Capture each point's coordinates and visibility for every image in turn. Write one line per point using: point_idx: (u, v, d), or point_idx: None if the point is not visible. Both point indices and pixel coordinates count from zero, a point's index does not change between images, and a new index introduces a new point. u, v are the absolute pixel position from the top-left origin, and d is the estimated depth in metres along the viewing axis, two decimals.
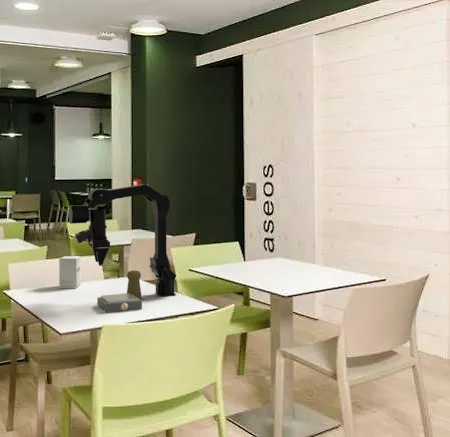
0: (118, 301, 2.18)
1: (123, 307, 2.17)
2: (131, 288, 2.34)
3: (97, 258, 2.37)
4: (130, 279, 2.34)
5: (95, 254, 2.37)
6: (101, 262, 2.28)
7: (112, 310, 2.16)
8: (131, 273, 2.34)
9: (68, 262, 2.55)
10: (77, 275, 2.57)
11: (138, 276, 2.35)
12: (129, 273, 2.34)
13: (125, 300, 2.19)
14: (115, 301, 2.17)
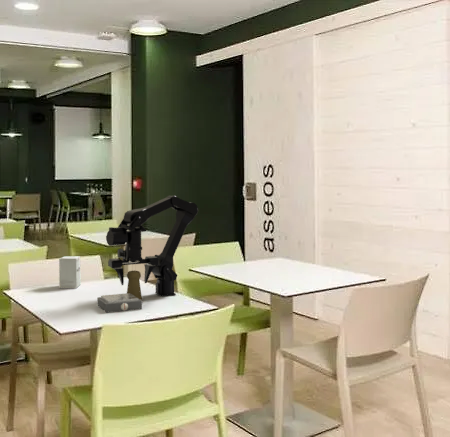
0: (118, 301, 2.18)
1: (123, 307, 2.17)
2: (131, 288, 2.34)
3: (145, 279, 2.38)
4: (130, 279, 2.34)
5: None
6: (121, 282, 2.34)
7: (112, 310, 2.16)
8: (131, 273, 2.34)
9: (68, 262, 2.55)
10: (77, 275, 2.57)
11: (138, 276, 2.35)
12: (129, 273, 2.34)
13: (125, 300, 2.19)
14: (115, 301, 2.17)
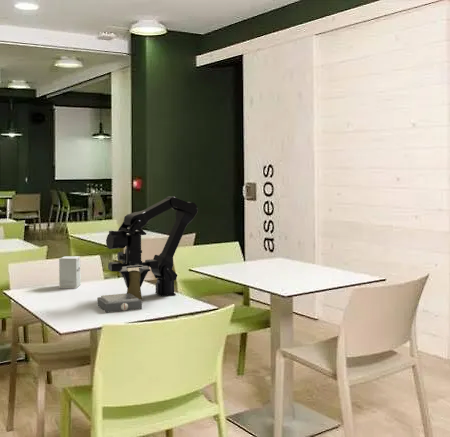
0: (118, 301, 2.18)
1: (123, 307, 2.17)
2: (131, 288, 2.34)
3: None
4: (130, 279, 2.34)
5: (139, 279, 2.38)
6: (126, 285, 2.35)
7: (112, 310, 2.16)
8: (131, 273, 2.34)
9: (68, 262, 2.55)
10: (77, 275, 2.57)
11: (138, 276, 2.35)
12: (129, 273, 2.34)
13: (125, 300, 2.19)
14: (115, 301, 2.17)
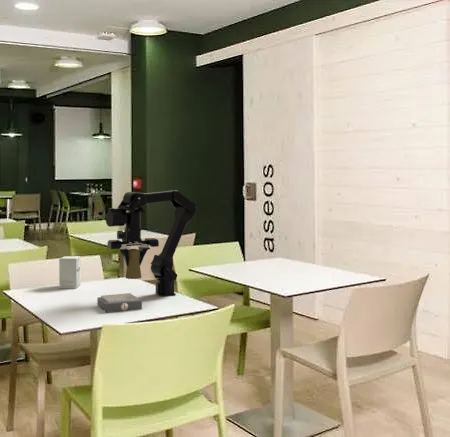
0: (118, 301, 2.18)
1: (123, 307, 2.17)
2: (131, 267, 2.33)
3: (139, 262, 2.36)
4: (129, 257, 2.33)
5: None
6: (126, 263, 2.34)
7: (112, 310, 2.16)
8: (130, 251, 2.33)
9: (68, 262, 2.55)
10: (77, 275, 2.57)
11: (138, 254, 2.34)
12: (128, 251, 2.33)
13: (125, 300, 2.19)
14: (115, 301, 2.17)
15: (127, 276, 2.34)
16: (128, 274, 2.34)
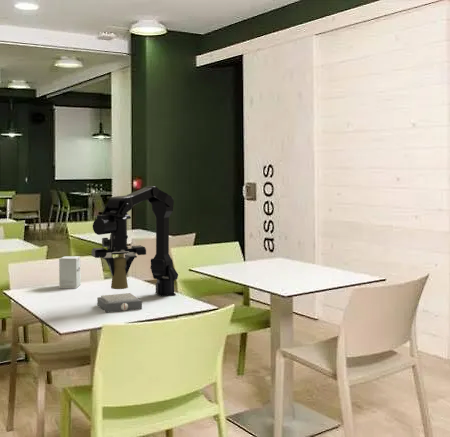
0: (118, 301, 2.18)
1: (123, 307, 2.17)
2: (116, 276, 2.20)
3: None
4: (115, 266, 2.20)
5: (125, 266, 2.24)
6: (111, 272, 2.21)
7: (112, 310, 2.16)
8: (116, 260, 2.20)
9: (68, 262, 2.55)
10: (77, 275, 2.57)
11: (124, 263, 2.20)
12: (114, 260, 2.20)
13: (125, 300, 2.19)
14: (115, 301, 2.17)
15: (112, 286, 2.21)
16: (114, 284, 2.20)
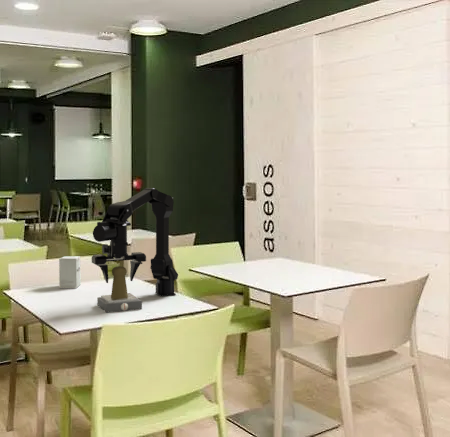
0: (118, 301, 2.18)
1: (123, 307, 2.17)
2: (116, 285, 2.20)
3: (130, 277, 2.24)
4: (115, 275, 2.20)
5: (130, 272, 2.25)
6: (105, 279, 2.20)
7: (112, 310, 2.16)
8: (116, 269, 2.20)
9: (68, 262, 2.55)
10: (77, 275, 2.57)
11: (124, 272, 2.21)
12: (114, 269, 2.20)
13: (125, 300, 2.19)
14: (115, 301, 2.17)
15: (112, 295, 2.21)
16: (113, 293, 2.21)
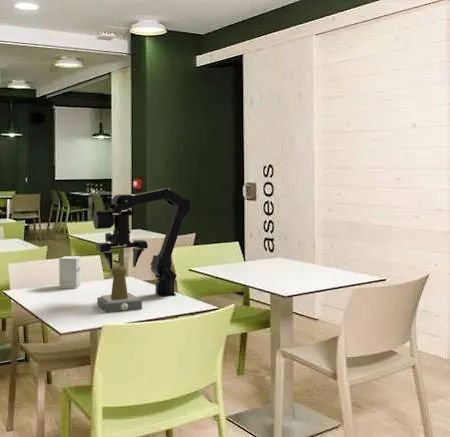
0: (118, 301, 2.18)
1: (123, 307, 2.17)
2: (116, 285, 2.20)
3: (133, 263, 2.38)
4: (115, 275, 2.20)
5: (133, 259, 2.39)
6: (109, 266, 2.33)
7: (112, 310, 2.16)
8: (116, 269, 2.20)
9: (68, 262, 2.55)
10: (77, 275, 2.57)
11: (124, 272, 2.21)
12: (114, 269, 2.20)
13: (125, 300, 2.19)
14: (115, 301, 2.17)
15: (112, 295, 2.21)
16: (113, 293, 2.21)
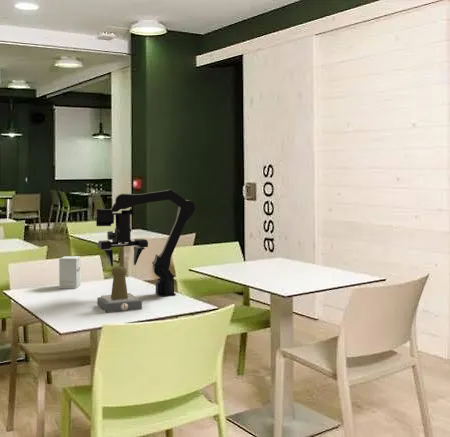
0: (118, 301, 2.18)
1: (123, 307, 2.17)
2: (116, 285, 2.20)
3: (134, 261, 2.43)
4: (115, 275, 2.20)
5: (134, 257, 2.44)
6: (110, 263, 2.39)
7: (112, 310, 2.16)
8: (116, 269, 2.20)
9: (68, 262, 2.55)
10: (77, 275, 2.57)
11: (124, 272, 2.21)
12: (114, 269, 2.20)
13: (125, 300, 2.19)
14: (115, 301, 2.17)
15: (112, 295, 2.21)
16: (113, 293, 2.21)
